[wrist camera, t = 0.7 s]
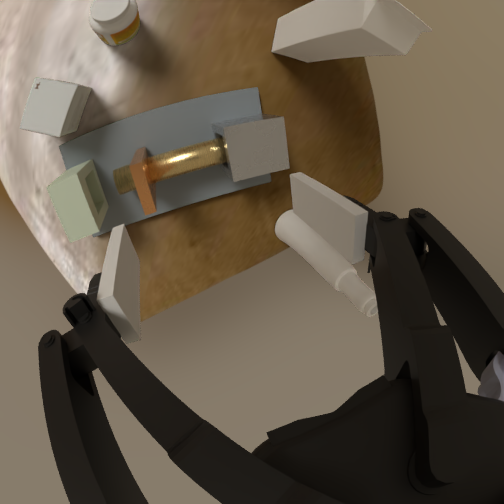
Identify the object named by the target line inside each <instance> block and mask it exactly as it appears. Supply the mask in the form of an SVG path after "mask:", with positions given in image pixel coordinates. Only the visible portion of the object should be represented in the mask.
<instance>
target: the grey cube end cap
mask: <svg viewBox="0 0 504 504" xmlns="http://www.w3.org/2000/svg"><path fill="white" fill-rule="evenodd" d="M211 126H212V131H213V136H214V139H216V138H220V137H223V142H224V147H225V152H226V158H227V163H223V164H219V165H220V169H221V170H222V171H223V172H224V173H225V174H226V175H227V176H228V177H229V178H230V179H231V180H232V181H233V182H236V181H240V180H244V179H248V178H252V177H256V176H260V175H264V174H268V173H272V172H276V171H281V170H285V169H290V167H289V158H288V149H287V140H286V132H285V124H284V117H283V116H276V115H269V114H256V115H250V116H245V117H239V118H234V119H229V120H224V121H220V122H215V123H211Z"/></svg>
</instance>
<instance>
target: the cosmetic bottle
mask: <svg viewBox="0 0 504 504" xmlns="http://www.w3.org/2000/svg"><path fill="white" fill-rule="evenodd" d="M275 233H276V235H277V237H278V238H279V239H280V240H281V241H283V242H284V243H286V244H287V245H289V246H290V247H291V248H292V249H294V250H295V251H296V252H297V253H298V254H299V255H300V256H302V258H304V259H305V260H306V261H307V262H308V263H309V264H310V265H311V266H312V267H313V268H314V269H315V270H316V271H317V272H318V273H319V274H320V275H321V276H322V277H323V278H324V279H325V280H326V281H327V282H328V283H329V284H330V285H331V286H332V287H333V288H334V289H335V290H337V291H339V292H343V294H344V295H345V296H346V297H347V298H348V299H349V300H350V301H351V302H352V303H353V305H354V306H355V307H356V308H357V309H358V310H359V311H360V312H361V313H365V314H366V316H367V317H372V316H374V315H376V314H377V313H378V307H377V301H376V295H375V293H374V292H373V291H372V290H371V289H370V288H369V287H368V286H367V285H366V284H365V283H364V282H363V281H362V280H361V279H360V278H359V277H358V276H357V271H356V269H355V268H354V267H353V266H352V265H351V264H350V263H349V262H348V261H347V260H346V259H345V258H344V257H343V256H342V255H341V254H340V253H339V252H338V251H337V250H335V249H334V248H333V247H332V246H331V245H330V244H329V243H328V242H327V241H325V240H324V239H323V238H322V237H321V236H320V235H319V234H318V233H316V232H315V231H314V230H313V229H312V228H311V227H310V226H308V225H307V224H306V223H305V222H304V221H303V220H301V219H300V218H299V217H298V216H297V215H296V214H294V213H293V209H292V210H288V211H286V212H285V213H283V214H282V215H281V216H280V217H279V219H278V220H277V222H276V225H275Z"/></svg>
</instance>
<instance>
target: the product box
mask: <svg viewBox="0 0 504 504" xmlns="http://www.w3.org/2000/svg"><path fill="white" fill-rule="evenodd" d="M91 89H92V88H90V87H87V86H83V85H79V84H75V83H70V82H64V81H59V80H52V79H46V78H39V77H36V78H35V79H34V82H33V85H32V88H31V91H30V94H29V97H28V100H27V103H26V107H25V110H24V114H23V117H22V121H21V125H20V129H23V130H28V131H32V132H37V133H41V134H46V135H50V136H55V137H61V136H64V135H66V134H69V133H72V132H75V131H77V129H78V126H79V123H80V119H81V117H82V113H83V111H84V108H85V105H86V102H87V100H88V97H89V94H90V92H91Z"/></svg>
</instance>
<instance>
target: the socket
mask: <svg viewBox="0 0 504 504" xmlns="http://www.w3.org/2000/svg"><path fill="white" fill-rule="evenodd" d="M47 190H48V193H49V196H50V198H51V201H52V203H53V205H54V208H55V210H56V213H57V215H58V217H59V220H60V222H61V224H62V226H63V228H64V231H65V233H66V235H67V237H68V239H69V241H70V243H72V242H74V241H77V240H79V239H82V238H84V237H87V236H89V235H92V234H94V233H97V232H99V231H100V228H101V225H102V223H103V220H104V217H105V215H106V212H107V210H108V207H109V206H108V203H107V200H106V198H105V195H104V192H103V189H102V187H101V184H100V181H99V178H98V175H97V172H96V169H95V166H94V163H93V159H91V160H88V161H86V162H84V163H81V164H79V165H77V166H74V167H72V168H70V169H68V170H66V171H65V172H64V173H63V174H61V175H60V176H59V177H58V178H57V179H56V180H54V181H53V182H52V183H51V184H50V185H49V186H48V187H47Z"/></svg>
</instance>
